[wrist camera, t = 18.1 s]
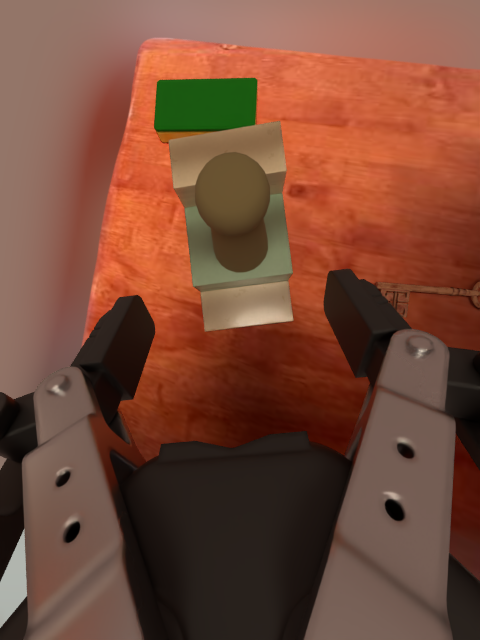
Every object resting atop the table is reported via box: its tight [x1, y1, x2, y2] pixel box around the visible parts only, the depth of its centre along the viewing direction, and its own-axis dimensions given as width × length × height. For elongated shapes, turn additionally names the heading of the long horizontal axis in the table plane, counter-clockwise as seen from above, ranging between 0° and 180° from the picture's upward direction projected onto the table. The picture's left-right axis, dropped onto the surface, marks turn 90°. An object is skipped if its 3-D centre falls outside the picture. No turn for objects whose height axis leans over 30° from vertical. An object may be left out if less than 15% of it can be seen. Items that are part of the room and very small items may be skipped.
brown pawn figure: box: [195, 152, 270, 273], centre depth 20 cm, size 6×6×11 cm
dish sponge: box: [154, 78, 257, 142], centre depth 32 cm, size 7×14×2 cm, turn 87°
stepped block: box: [169, 121, 293, 331], centre depth 27 cm, size 19×11×10 cm, turn 7°
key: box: [375, 281, 480, 317], centre depth 30 cm, size 6×1×15 cm
